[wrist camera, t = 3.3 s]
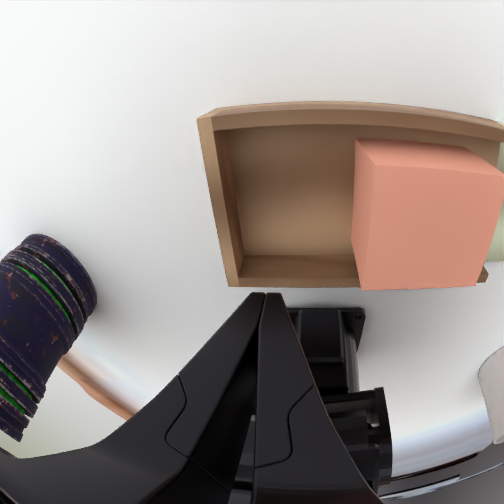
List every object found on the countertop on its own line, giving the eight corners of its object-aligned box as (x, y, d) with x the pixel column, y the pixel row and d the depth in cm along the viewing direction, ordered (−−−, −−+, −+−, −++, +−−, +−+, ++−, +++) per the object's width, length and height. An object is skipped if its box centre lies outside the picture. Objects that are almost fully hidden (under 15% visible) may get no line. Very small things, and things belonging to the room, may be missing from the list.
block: (447, 239, 14) (475, 286, 11) (350, 239, 15) (361, 290, 12) (464, 147, 11) (507, 177, 8) (354, 137, 12) (375, 164, 9)
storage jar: (113, 321, 25) (44, 458, 13) (49, 309, 27) (-16, 413, 15) (69, 229, 19) (-53, 382, 7) (8, 233, 21) (-85, 341, 9)
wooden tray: (538, 251, 14) (557, 276, 11) (238, 253, 18) (228, 286, 16) (566, 144, 9) (593, 161, 7) (215, 108, 13) (196, 118, 11)
